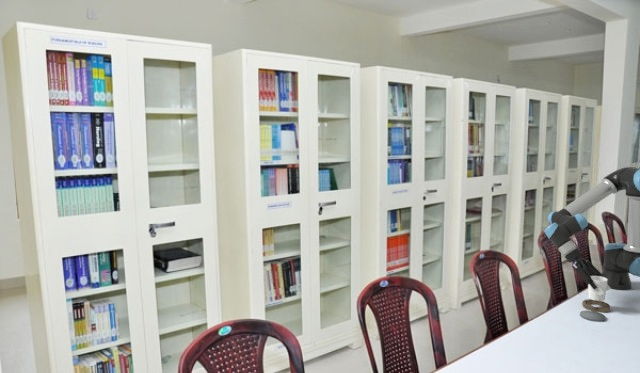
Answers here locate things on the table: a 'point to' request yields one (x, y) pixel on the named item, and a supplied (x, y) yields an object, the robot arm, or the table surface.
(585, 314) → the coaster
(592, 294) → the white cup
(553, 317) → the table surface
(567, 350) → the table surface
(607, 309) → the collar
